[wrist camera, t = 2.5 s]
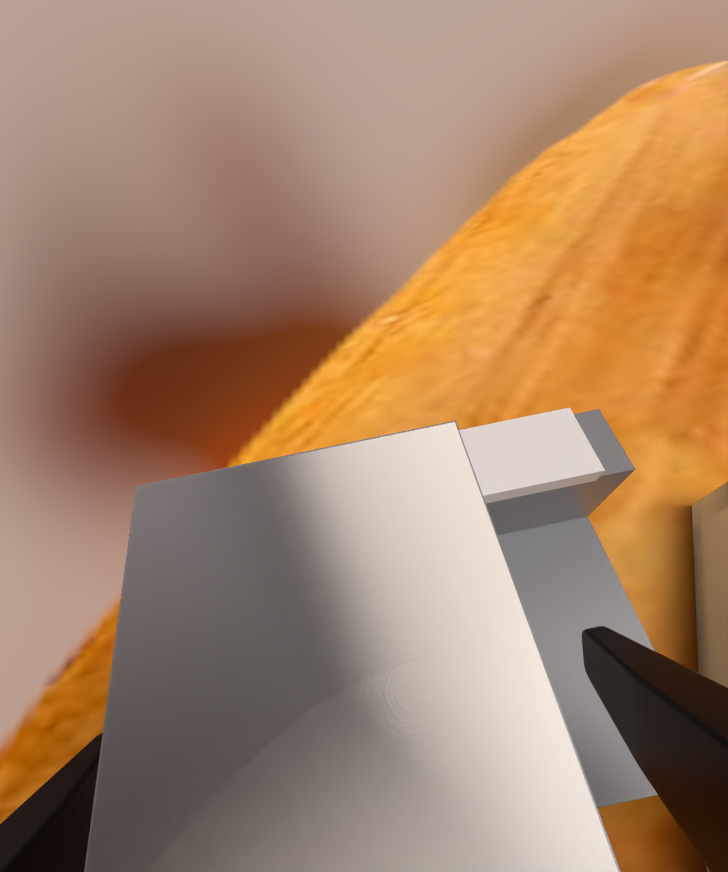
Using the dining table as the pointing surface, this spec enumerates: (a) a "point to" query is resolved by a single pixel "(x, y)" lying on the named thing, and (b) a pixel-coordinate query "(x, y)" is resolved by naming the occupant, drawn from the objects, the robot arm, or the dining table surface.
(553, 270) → the dining table surface
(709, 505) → the tray
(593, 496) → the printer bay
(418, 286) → the dining table surface
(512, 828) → the block
